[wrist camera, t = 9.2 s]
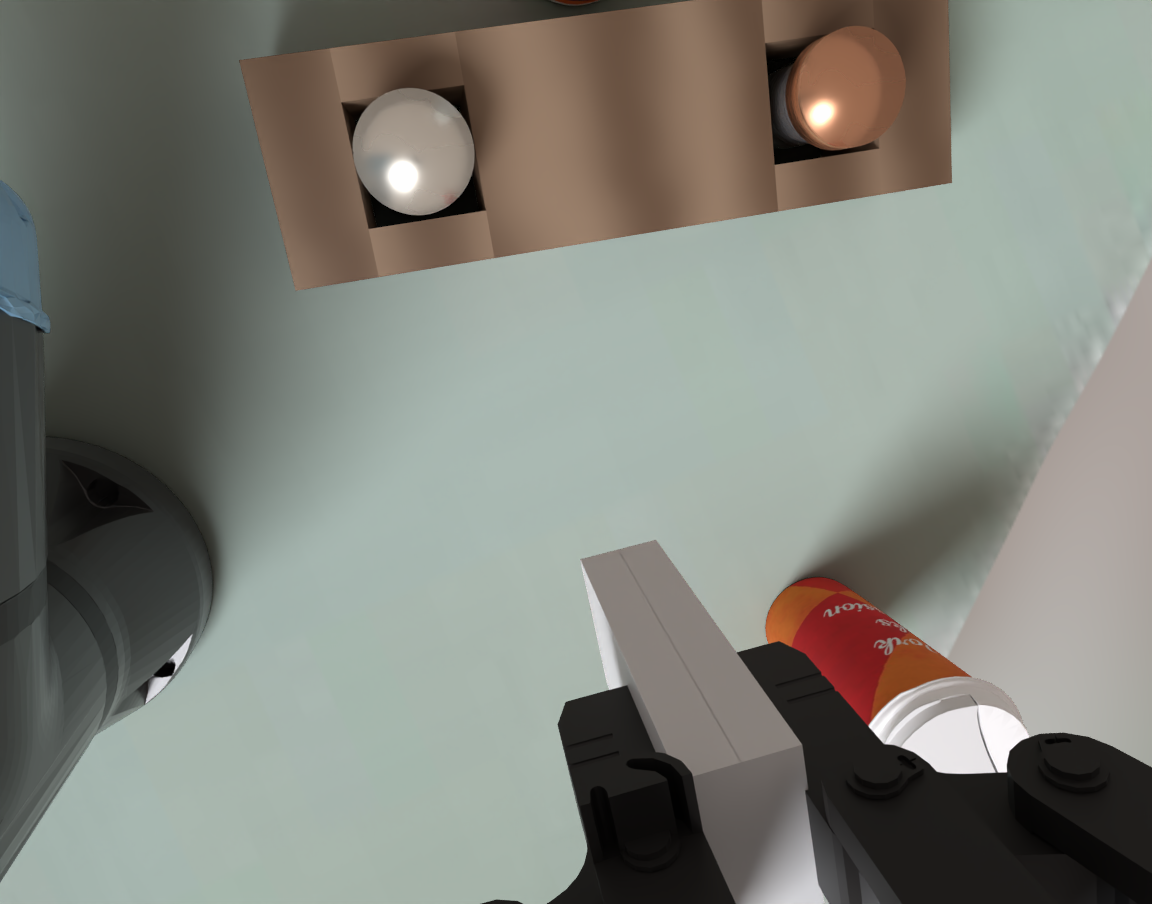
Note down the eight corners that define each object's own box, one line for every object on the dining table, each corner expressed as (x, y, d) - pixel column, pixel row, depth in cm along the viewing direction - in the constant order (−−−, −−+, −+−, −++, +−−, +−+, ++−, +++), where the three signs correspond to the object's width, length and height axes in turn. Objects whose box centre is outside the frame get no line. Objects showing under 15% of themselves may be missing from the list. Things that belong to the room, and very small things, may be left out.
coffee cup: (899, 618, 52) (1077, 768, 37) (800, 706, 52) (939, 888, 38) (820, 530, 49) (979, 655, 35) (718, 624, 50) (833, 785, 35)
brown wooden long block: (314, 281, 41) (295, 290, 35) (267, 84, 38) (239, 60, 33) (884, 187, 44) (951, 182, 39) (877, 1, 42) (947, -34, 36)
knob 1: (378, 223, 39) (367, 223, 32) (356, 119, 38) (340, 97, 31) (475, 208, 40) (484, 205, 33) (457, 105, 38) (462, 80, 32)
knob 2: (744, 166, 41) (804, 155, 34) (735, 65, 40) (796, 33, 33) (831, 152, 42) (907, 138, 35) (825, 52, 40) (903, 18, 34)
